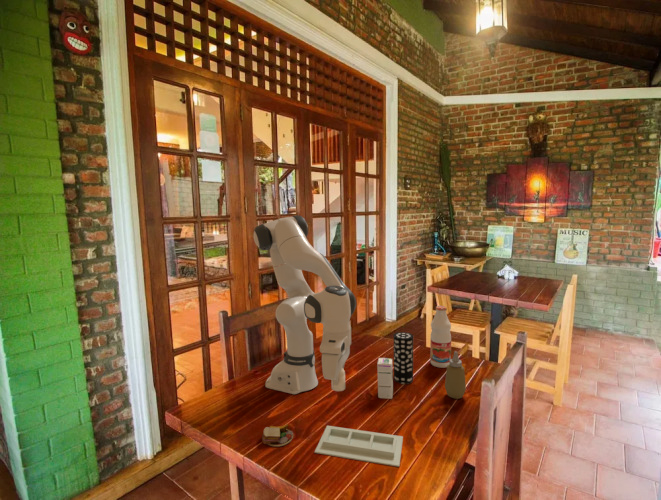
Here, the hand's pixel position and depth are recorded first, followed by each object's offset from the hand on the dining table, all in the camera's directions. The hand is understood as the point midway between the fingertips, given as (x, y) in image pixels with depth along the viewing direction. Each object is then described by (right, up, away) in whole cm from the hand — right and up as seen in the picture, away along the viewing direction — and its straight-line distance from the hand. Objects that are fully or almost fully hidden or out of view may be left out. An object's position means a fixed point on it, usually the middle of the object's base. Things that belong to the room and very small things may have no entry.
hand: (338, 380), depth 116 cm
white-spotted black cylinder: (+30, -16, +44) cm, 55 cm away
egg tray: (+7, -21, +1) cm, 22 cm away
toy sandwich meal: (-20, -22, +5) cm, 30 cm away
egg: (0, -3, 0) cm, 3 cm away
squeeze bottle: (+47, -17, +30) cm, 58 cm away
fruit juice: (+50, -14, +59) cm, 79 cm away
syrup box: (+20, -17, +31) cm, 41 cm away
